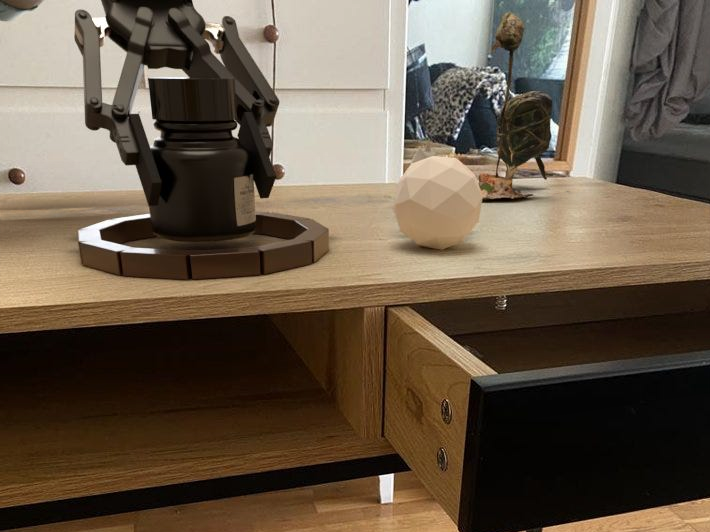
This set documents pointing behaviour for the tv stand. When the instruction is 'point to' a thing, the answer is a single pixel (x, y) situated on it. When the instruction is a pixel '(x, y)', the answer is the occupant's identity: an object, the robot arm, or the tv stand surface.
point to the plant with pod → (517, 122)
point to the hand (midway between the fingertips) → (213, 190)
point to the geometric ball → (437, 202)
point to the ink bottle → (200, 162)
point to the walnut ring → (108, 255)
